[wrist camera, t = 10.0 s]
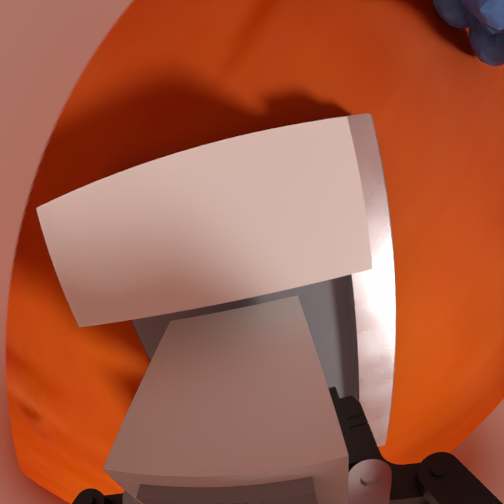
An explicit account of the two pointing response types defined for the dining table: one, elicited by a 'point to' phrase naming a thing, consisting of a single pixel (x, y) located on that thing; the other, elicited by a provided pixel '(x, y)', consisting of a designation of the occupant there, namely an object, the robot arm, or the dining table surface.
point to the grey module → (233, 415)
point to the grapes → (478, 25)
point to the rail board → (245, 245)
